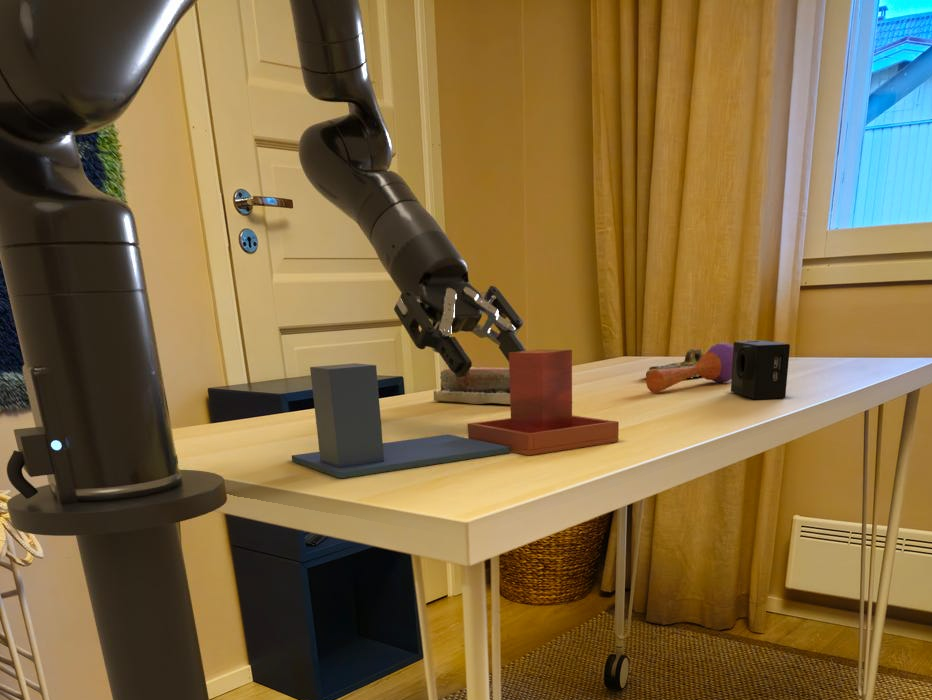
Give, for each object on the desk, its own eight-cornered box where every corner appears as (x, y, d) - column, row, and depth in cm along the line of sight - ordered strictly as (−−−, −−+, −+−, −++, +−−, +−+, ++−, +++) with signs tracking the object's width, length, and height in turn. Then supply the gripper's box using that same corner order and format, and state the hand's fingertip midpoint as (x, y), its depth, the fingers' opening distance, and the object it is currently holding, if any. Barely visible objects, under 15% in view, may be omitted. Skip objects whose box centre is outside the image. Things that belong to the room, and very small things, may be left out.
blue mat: (340, 478, 75) (339, 471, 75) (291, 461, 85) (291, 455, 84) (510, 452, 84) (509, 446, 83) (448, 439, 93) (448, 434, 93)
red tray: (528, 455, 82) (528, 434, 81) (468, 442, 91) (467, 423, 90) (618, 441, 87) (618, 421, 86) (553, 430, 96) (552, 412, 95)
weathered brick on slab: (428, 368, 126) (472, 363, 133) (430, 402, 128) (473, 395, 135) (526, 370, 116) (567, 364, 123) (526, 407, 117) (567, 399, 124)
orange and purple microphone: (635, 364, 127) (714, 344, 139) (642, 404, 129) (719, 381, 140) (667, 357, 123) (746, 337, 134) (674, 399, 124) (751, 375, 136)
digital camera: (721, 392, 123) (724, 341, 121) (759, 390, 124) (763, 339, 121) (744, 400, 114) (748, 345, 111) (785, 398, 114) (790, 343, 111)
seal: (676, 388, 141) (722, 378, 151) (680, 358, 139) (726, 350, 149) (630, 379, 147) (677, 371, 156) (633, 351, 144) (680, 344, 154)
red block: (543, 442, 86) (541, 353, 83) (511, 438, 89) (508, 352, 86) (572, 435, 89) (572, 349, 85) (540, 432, 92) (538, 349, 89)
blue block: (339, 468, 77) (329, 369, 73) (320, 461, 80) (309, 366, 77) (384, 461, 79) (376, 365, 76) (364, 455, 82) (355, 363, 79)
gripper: (379, 227, 87) (462, 346, 83) (480, 229, 96) (558, 337, 92) (354, 285, 92) (430, 400, 89) (451, 282, 101) (524, 386, 98)
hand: (495, 368), depth 91 cm, fingers open, 8 cm apart
